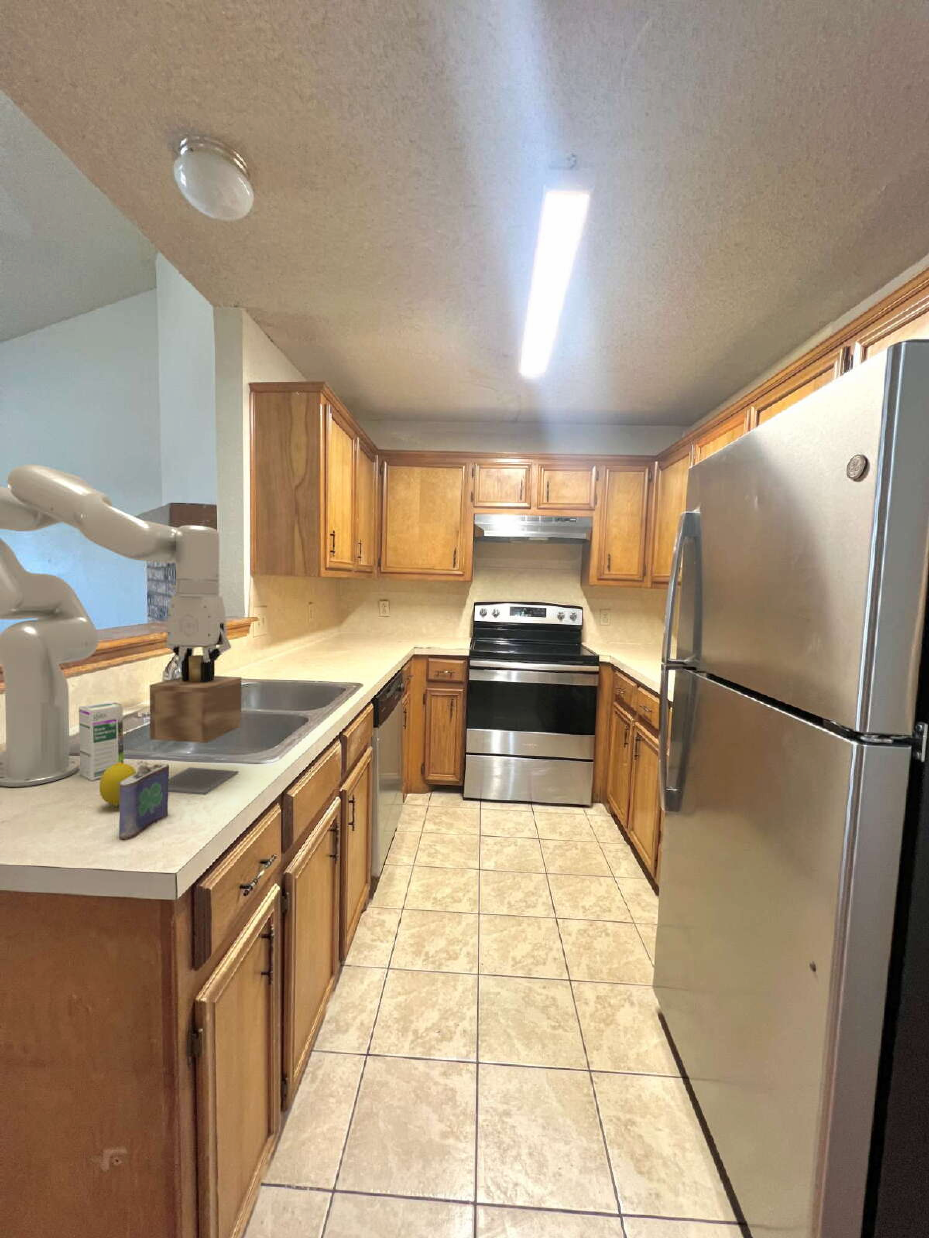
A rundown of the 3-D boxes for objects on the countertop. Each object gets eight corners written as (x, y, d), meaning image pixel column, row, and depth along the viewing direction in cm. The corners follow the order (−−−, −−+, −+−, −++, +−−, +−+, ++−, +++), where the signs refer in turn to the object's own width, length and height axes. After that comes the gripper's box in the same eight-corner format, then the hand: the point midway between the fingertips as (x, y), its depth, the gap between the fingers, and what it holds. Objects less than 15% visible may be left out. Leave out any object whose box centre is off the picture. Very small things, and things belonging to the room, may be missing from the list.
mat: (151, 790, 92) (151, 788, 92) (189, 769, 103) (189, 767, 102) (205, 794, 91) (205, 792, 91) (238, 772, 101) (238, 771, 101)
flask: (129, 840, 74) (128, 773, 73) (112, 839, 74) (111, 771, 73) (172, 813, 83) (172, 753, 82) (157, 812, 83) (157, 752, 82)
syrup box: (91, 781, 95) (90, 709, 94) (79, 774, 98) (78, 705, 97) (124, 772, 99) (123, 704, 99) (111, 766, 102) (110, 700, 102)
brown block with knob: (150, 739, 91) (149, 658, 90) (190, 723, 102) (190, 651, 101) (206, 742, 90) (206, 661, 89) (241, 726, 101) (241, 653, 100)
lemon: (118, 815, 81) (117, 769, 81) (91, 811, 83) (91, 766, 82) (145, 801, 87) (145, 758, 86) (120, 797, 88) (120, 755, 87)
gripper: (145, 587, 91) (145, 682, 92) (226, 590, 90) (225, 686, 91) (172, 588, 99) (173, 675, 100) (247, 590, 97) (247, 679, 98)
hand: (198, 679), depth 95 cm, fingers closed on brown block with knob, 3 cm apart
